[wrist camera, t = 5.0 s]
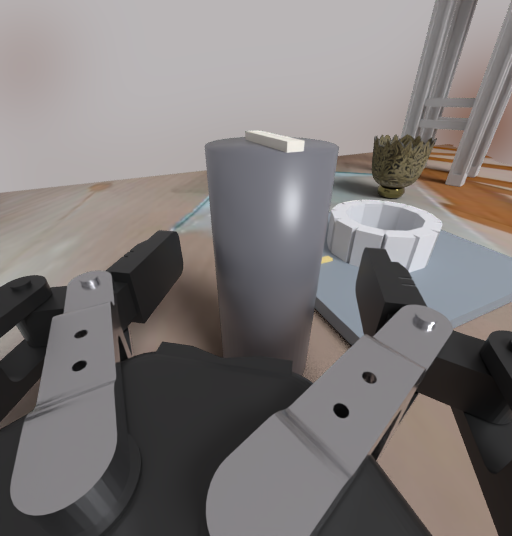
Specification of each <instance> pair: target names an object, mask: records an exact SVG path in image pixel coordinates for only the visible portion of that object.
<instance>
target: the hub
mask: <svg viewBox="0 0 512 536" xmlns="http://www.w3.org/2000/svg"><path fill="white" fill-rule="evenodd" d="M442 224H443V223H442V221H440V220H439V219H438V218H436V217H435V216H434V215H433V214H431V213H428V212H427V211H424V210H422V209H419V208H416V207H413V206H410V205H409V206H406V204H401V203H395V202H390V201H384V202H382V201H381V200H361V201H359V200H354V201H348V202H342V204H341V203H339V204H338V205H337V206H335V207H334V208H332V210H331V212H329V215H328V222H327V229H326V235H325V242H324V248H323V255H322V261H321V268H320V274H319V281H318V287H317V294H316V300H315V307H314V308H315V309H316V310H317V311H318V312H319V313H320V314H321V315H322V316H323V317H324V318H325V319H326V320H327V321H328V322H329V323H330V324H331V325H332V326H333V327H334V328H335V329H336V330H337V331H338V332H339V333H340V334H341V335H342V336H343V337H344V338H345V339H346V340H347V341H348V342H349V343H350V344H351V345H352V346H353V345H354V344H355V343H356V342H357V341H358V340H359V339H360V338H361V337H362V336H363V335H364V333H363V328H362V323H361V318H360V314H359V309H358V304H357V299H356V293H355V286H356V279H357V275H358V271H359V266H360V262H361V258H362V254H363V250H364V248H365V247H368V248H380V249H386V251H387V253H388V255H389V258H390V260H391V262H399V263H400V264H401V265H402V266H404V267H405V268H406V269H407V270H408V271H409V273H410V275H411V277H412V280H413V281H414V283H415V286H416V287H417V288H418V290H419V292H420V294H421V296H422V298H423V300H424V301H425V303H426V305H427V307H429V308H432V309H434V310H436V311H438V312H440V313H441V314H443V315H444V316H445V317H446V318H447V319H448V320H449V321H450V322H451V324H452V326H453V328H455V327H457V326H459V325H462V324H464V323H466V322H468V321H470V320H473V319H475V318H477V317H479V316H481V315H484V314H486V313H488V312H490V311H492V310H495V309H497V308H499V307H501V306H503V305H505V304H508V303H510V302H512V258H511V257H509V256H506V255H504V254H501V253H499V252H496V251H494V250H491V249H489V248H486V247H484V246H481V245H479V244H476V243H474V242H471V241H469V240H466V239H463V238H461V237H458V236H456V235H453V234H451V233H448V232H446V231H443V230H441V227H442Z"/></svg>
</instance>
